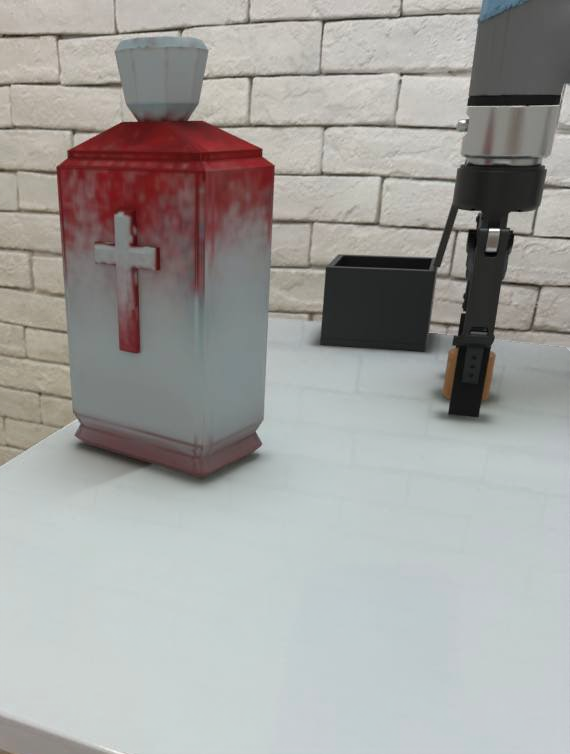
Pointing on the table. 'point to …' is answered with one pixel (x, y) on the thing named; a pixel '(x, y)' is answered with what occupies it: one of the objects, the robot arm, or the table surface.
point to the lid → (446, 234)
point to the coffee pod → (451, 370)
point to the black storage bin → (378, 301)
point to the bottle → (167, 272)
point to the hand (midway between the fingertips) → (463, 394)
